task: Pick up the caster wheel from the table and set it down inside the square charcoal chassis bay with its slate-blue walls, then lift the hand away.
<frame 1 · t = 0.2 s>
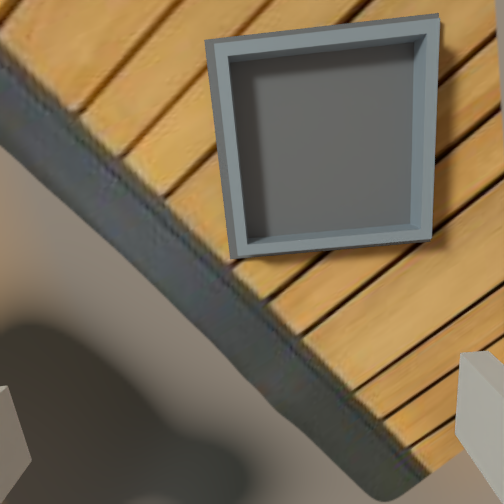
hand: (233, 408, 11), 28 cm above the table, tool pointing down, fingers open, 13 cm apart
chassis bay: (323, 147, 35), on the table
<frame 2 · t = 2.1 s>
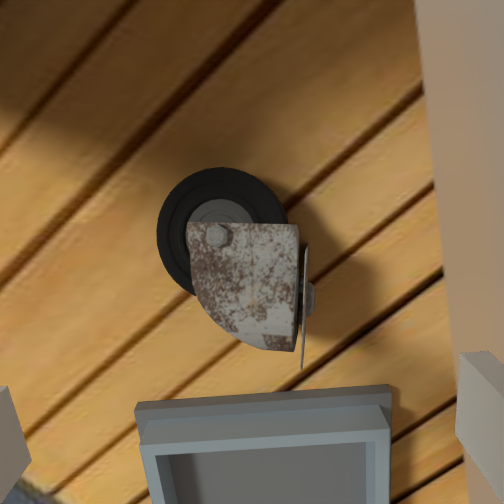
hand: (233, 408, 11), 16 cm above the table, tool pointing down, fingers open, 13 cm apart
caster wheel: (238, 248, 26), on the table
chassis bay: (271, 489, 32), on the table
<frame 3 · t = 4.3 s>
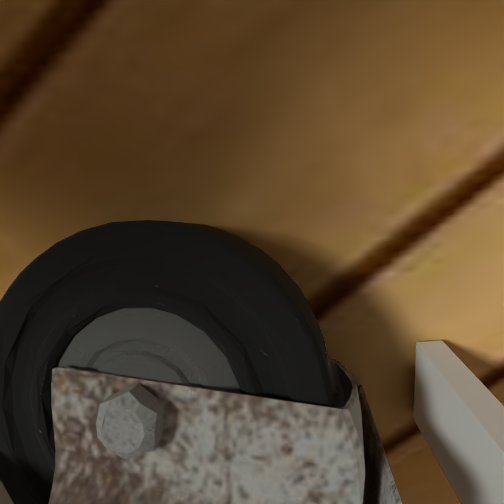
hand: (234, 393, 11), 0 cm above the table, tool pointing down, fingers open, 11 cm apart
caster wheel: (206, 383, 12), on the table
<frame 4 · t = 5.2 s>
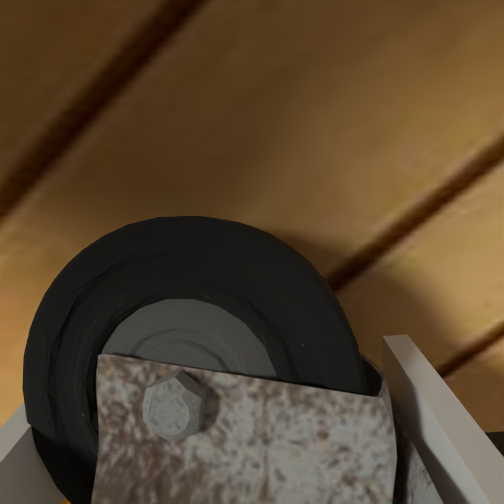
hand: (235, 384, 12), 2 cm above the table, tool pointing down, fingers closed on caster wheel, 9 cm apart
caster wheel: (230, 375, 12), point 1 cm above the table, touching gripper
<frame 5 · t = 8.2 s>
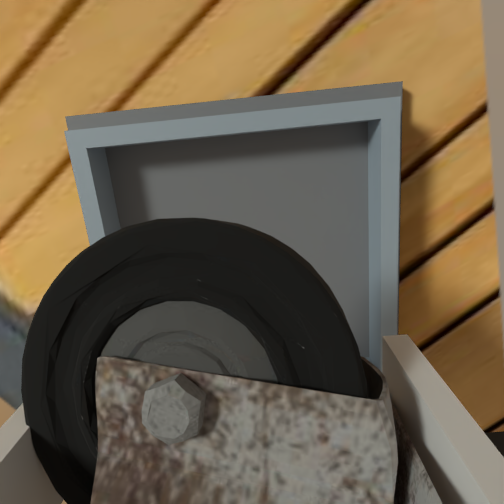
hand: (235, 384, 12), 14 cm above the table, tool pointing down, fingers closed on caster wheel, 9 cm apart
caster wheel: (230, 377, 12), point 14 cm above the table, touching gripper
chassis bay: (247, 256, 25), on the table
when the fingers open (2 cm above the table, at t = 11.1 s): caster wheel stays where it is, resting on chassis bay.
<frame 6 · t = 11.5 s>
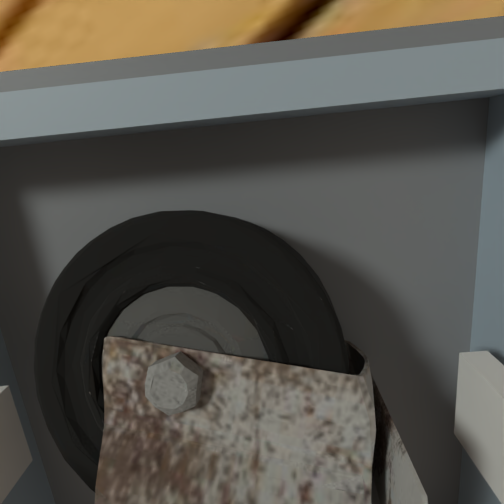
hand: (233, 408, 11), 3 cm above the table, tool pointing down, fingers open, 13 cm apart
caster wheel: (226, 362, 13), point 1 cm above the table, touching chassis bay
chassis bay: (238, 350, 14), on the table
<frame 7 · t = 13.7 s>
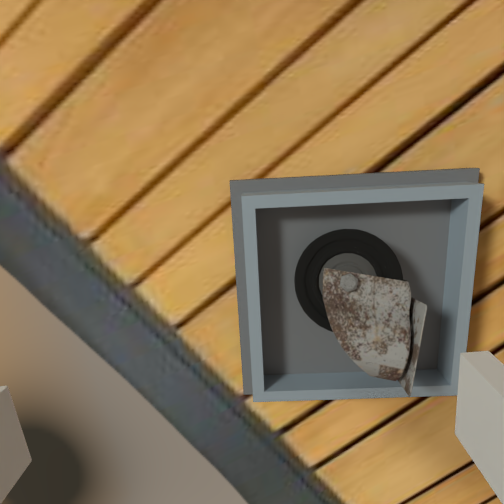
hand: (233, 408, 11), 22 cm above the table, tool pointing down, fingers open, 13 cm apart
caster wheel: (344, 289, 32), point 1 cm above the table, touching chassis bay
chassis bay: (348, 287, 33), on the table
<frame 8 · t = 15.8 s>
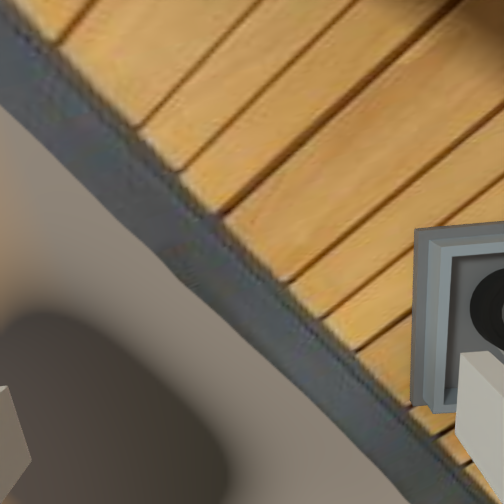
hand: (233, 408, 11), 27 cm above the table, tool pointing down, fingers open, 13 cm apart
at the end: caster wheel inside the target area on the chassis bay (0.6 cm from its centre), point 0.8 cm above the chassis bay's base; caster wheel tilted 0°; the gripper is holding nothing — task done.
